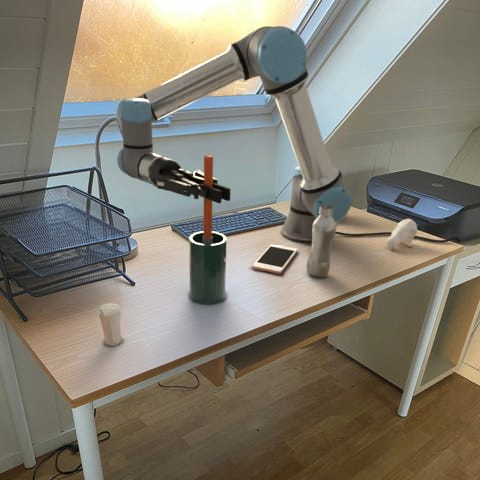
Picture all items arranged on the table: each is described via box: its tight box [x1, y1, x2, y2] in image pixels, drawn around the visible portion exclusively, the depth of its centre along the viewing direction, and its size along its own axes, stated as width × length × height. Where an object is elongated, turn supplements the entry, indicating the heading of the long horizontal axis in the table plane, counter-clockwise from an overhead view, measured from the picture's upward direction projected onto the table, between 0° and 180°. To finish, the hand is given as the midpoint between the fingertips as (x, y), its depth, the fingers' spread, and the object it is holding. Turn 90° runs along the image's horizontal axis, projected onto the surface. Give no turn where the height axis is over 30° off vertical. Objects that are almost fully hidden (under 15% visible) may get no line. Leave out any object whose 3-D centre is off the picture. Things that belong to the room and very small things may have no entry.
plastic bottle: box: [306, 205, 337, 278], centre depth 132 cm, size 6×7×20 cm
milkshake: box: [97, 302, 122, 347], centre depth 102 cm, size 5×5×10 cm
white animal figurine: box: [385, 218, 418, 250], centre depth 156 cm, size 6×8×12 cm
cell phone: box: [251, 243, 298, 275], centre depth 144 cm, size 9×18×1 cm, turn 158°
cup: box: [188, 230, 227, 305], centre depth 120 cm, size 9×9×16 cm
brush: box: [199, 154, 217, 245], centre depth 113 cm, size 5×5×28 cm
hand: (224, 195), depth 106 cm, fingers closed on brush, 2 cm apart
